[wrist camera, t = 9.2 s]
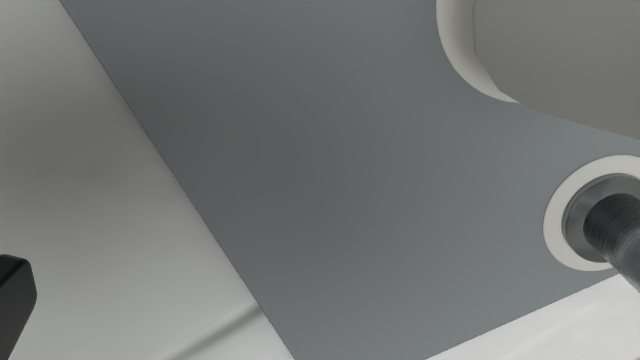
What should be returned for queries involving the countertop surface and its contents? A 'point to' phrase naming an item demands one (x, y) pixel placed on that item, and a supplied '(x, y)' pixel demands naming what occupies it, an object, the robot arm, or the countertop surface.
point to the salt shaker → (565, 58)
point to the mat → (358, 164)
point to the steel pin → (607, 223)
